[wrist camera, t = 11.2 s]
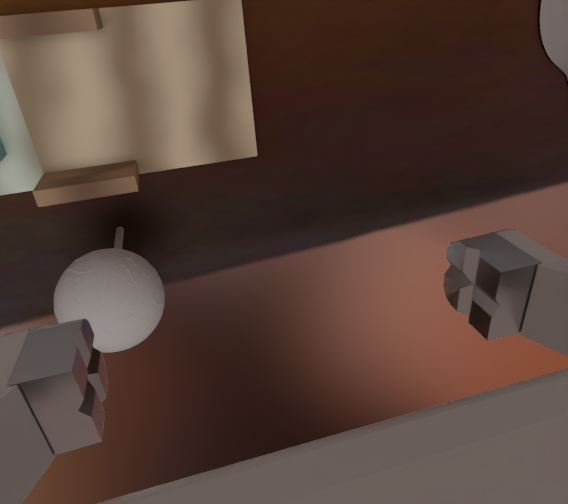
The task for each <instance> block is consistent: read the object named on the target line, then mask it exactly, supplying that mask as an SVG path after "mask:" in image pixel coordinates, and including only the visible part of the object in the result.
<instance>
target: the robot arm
mask: <svg viewBox="0 0 568 504" xmlns="http://www.w3.org/2000/svg"><path fill="white" fill-rule="evenodd" d="M540 31H541V37H542V42H543V45H544V48H545V50H546V52H547V54H548V56H549V58H550V59H551V60H552V62H553V63H554V64H555V65H556V66H558V67H559V68H560V69H561V70H562V71H563V72H564V73H565V74H566V76H567V79H568V0H542V1H541V8H540ZM447 259H448V261H449V263H450V264H451V266H450V267H449V269H448V270H447V271H446V273H445V274H444V284H443V287H444V291H445V295H446V298H447V300H448V301H449V303H450V305H451V306H452V307H453V308H454V309H455V310H456V311H458V312H461V313H463V314H466V315H469V324H471V325H472V326H473V327H474V328H475V329H476V330H477V331H478V332H479V333H480V334H481V335H482V336H483V337H484V338H485V339H486V340H492V339H496V338H500V337H505V336H509V335H513V334H518V333H521V335H523V336H525V337H527V338H529V339H531V340H533V341H536V342H538V343H540V344H542V345H544V346H546V347H548V348H550V349H553V350H555V351H557V352H559V353H561V354H563V355H566V356H568V258H562V257H560V256H559V255H557V254H555V253H554V252H552V251H550V250H548V249H547V248H545V247H543V246H542V245H540V244H539V243H537V242H535V241H533V240H532V239H530V238H529V237H526V236H525V235H523V234H522V233H520V232H518V231H517V230H514V229H504V230H500V231H496V232H492V233H489V234H485V235H481V236H477V237H472V238H468V239H464V240H460V241H455V242H451V244H450V246H449V247H448V251H447ZM93 341H94V333H93V330H92V328H91V325H90V323H89V321H88V320H86V319H80V320H74V321H69V322H64V323H59V324H54V325H48V326H43V327H38V328H33V329H27V330H22V331H17V332H13V333H8V334H5V335H3V336H1V337H0V504H22V503H23V502H24V500H25V499H26V497H27V496H28V495H29V493H30V492H31V490H32V489H33V487H34V486H35V485H36V483H37V482H38V481H39V479H40V478H41V476H42V475H43V473H44V472H45V471H46V469H47V468H48V466H49V465H50V464H51V462H52V461H53V459H54V458H55V457H54V455H57V454H61V453H64V452H67V451H71V450H74V449H78V448H81V447H85V446H88V445H92V444H95V443H98V442H102V434H103V426H104V417H105V413H104V411H103V408H102V405H101V403H102V401H103V400H104V399H105V398H106V397H107V386H108V385H107V373H106V368H105V363H104V360H103V357H102V354H101V351H99V350H97V349H96V348H94V347H93ZM96 504H568V368H567V369H563V370H560V371H556V372H553V373H549V374H546V375H542V376H539V377H535V378H532V379H528V380H525V381H521V382H518V383H514V384H510V385H507V386H503V387H500V388H496V389H493V390H489V391H486V392H483V393H479V394H475V395H472V396H468V397H465V398H461V399H458V400H454V401H451V402H447V403H444V404H440V405H437V406H433V407H430V408H426V409H423V410H419V411H416V412H412V413H409V414H406V415H402V416H399V417H395V418H392V419H388V420H385V421H381V422H378V423H374V424H371V425H368V426H364V427H360V428H357V429H353V430H350V431H347V432H343V433H340V434H337V435H333V436H329V437H326V438H323V439H319V440H315V441H312V442H308V443H305V444H301V445H298V446H295V447H292V448H288V449H284V450H281V451H277V452H274V453H271V454H267V455H263V456H260V457H256V458H253V459H249V460H246V461H243V462H239V463H236V464H232V465H228V466H225V467H222V468H218V469H215V470H211V471H208V472H204V473H201V474H197V475H194V476H190V477H187V478H183V479H180V480H176V481H173V482H169V483H166V484H163V485H159V486H155V487H152V488H148V489H145V490H142V491H138V492H135V493H131V494H128V495H124V496H121V497H117V498H114V499H110V500H107V501H103V502H100V503H96Z"/></svg>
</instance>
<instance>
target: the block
mask: <svg viewBox="0 0 568 504" xmlns="http://www.w3.org/2000/svg"><path fill="white" fill-rule="evenodd" d="M6 155H7V153H6V150H5V148H4V145H3V143H2V140H1V137H0V162H1V161H2V160H3V158H4V157H5V156H6Z"/></svg>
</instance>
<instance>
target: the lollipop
mask: <svg viewBox="0 0 568 504" xmlns="http://www.w3.org/2000/svg"><path fill="white" fill-rule="evenodd" d="M123 234H124V228H123V227H120V226H119V227H117V228H116V235H115V243H114V248H111V249H100V250H96V251H93V252H90V253H88V254H85V255H84V256H82V257H80V258H78V259H76V260H75V261H74V262H73V263H72V264H71V265H70V266H69V267H68V268H67V269H66V270H65V271H64V273H63V275H62V276H61V278H60V279H59V281H58V284H57V286H56V289H55V294H54V312H55V315H56V318H57V321H58V323H64V322H69V321H74V320H80V319H86V320H88V321H89V323H90V325H91V328H92V330H93V333H94V341H93V347H94V348H96V349H97V350H99V351H101V352H117V351H122V350H125V349H128V348H130V347H133V346H135V345H137V344H138V343H140V342H141V341H143V340H144V339H145V338H146V337H148V336H149V334H150V333H151V332H152V331H153V330H154V329H155V327H156V326H157V324H158V322H159V320H160V318H161V316H162V312H163V308H164V298H165V293H164V288H163V285H162V282H161V279H160V277H159V275H158V274H157V271H156V270H155V269H154V268H153V267H152V266H151V265H150V263H149V262H148V261H147V260H145V259H144V258H142V257H141V256H139V255H137V254H135V253H133V252H130V251H127V250H122V244H123Z"/></svg>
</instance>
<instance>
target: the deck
mask: <svg viewBox="0 0 568 504" xmlns="http://www.w3.org/2000/svg"><path fill="white" fill-rule="evenodd" d="M0 137H1V140H2V143H3V145H4V148H5V150H6V153H7V155H6V156H5V157H4V158H3V160H2V161H1V162H0V195H6V194H12V193H19V192H25V191H32V190H33V191H32V192H33V195H34V197H35V200H36V203H37V205H38V207H43V206H49V205H55V204H61V203H68V202H74V201H80V200H86V199H93V198H99V197H105V196H111V195H118V194H124V193H130V192H137V191H138V189H139V174H143V173H150V172H156V171H163V170H169V169H176V168H182V167H189V166H196V165H202V164H209V163H215V162H222V161H228V160H235V159H241V158H248V157H255V156H257V146H256V136H255V127H254V117H253V108H252V98H251V88H250V79H249V69H248V59H247V50H246V40H245V31H244V21H243V11H242V2H241V0H194V1H181V2H169V3H157V4H145V5H132V6H120V7H108V8H92V9H80V10H68V11H55V12H43V13H31V14H19V15H6V16H0Z"/></svg>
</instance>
